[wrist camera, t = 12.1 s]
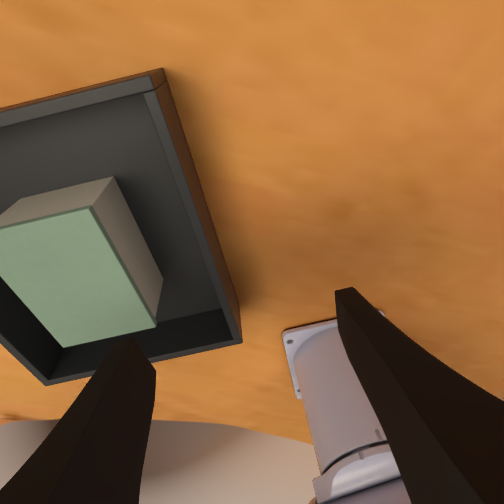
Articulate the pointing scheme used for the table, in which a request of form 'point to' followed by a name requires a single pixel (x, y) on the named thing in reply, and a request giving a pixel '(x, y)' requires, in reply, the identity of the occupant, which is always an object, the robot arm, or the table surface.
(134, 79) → the dark brown tray
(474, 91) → the table surface
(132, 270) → the small container
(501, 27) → the table surface
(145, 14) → the table surface
